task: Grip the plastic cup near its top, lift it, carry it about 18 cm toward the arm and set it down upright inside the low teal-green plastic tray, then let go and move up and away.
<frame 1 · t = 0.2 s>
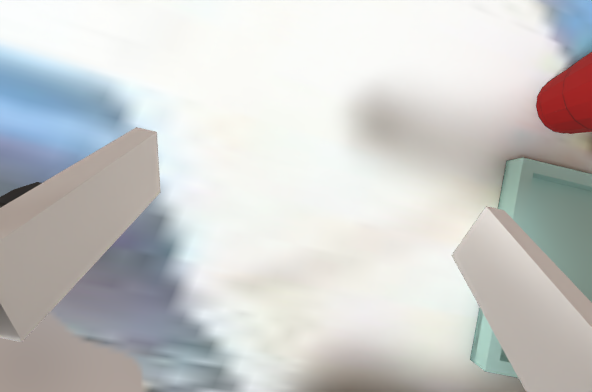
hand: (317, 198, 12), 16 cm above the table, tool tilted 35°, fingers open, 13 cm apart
tray: (581, 278, 29), on the table
plastic cup: (561, 107, 30), on the table
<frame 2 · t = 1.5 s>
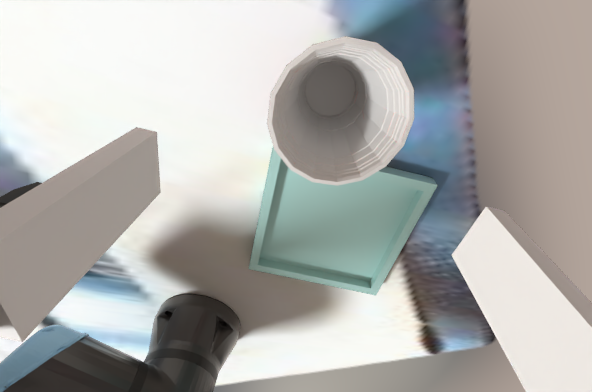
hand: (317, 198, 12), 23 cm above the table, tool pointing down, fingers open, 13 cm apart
tray: (331, 223, 40), on the table
plastic cup: (332, 90, 31), on the table
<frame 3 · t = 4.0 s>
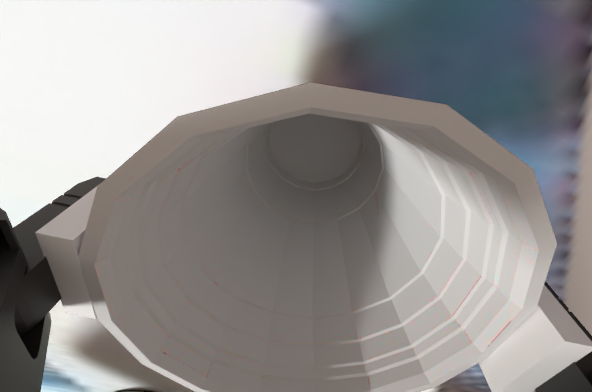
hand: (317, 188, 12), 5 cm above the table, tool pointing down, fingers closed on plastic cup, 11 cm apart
plastic cup: (318, 140, 17), on the table, touching gripper
when the fingers open (6 cm above the table, at t = 11.6 s): plastic cup stays where it is, resting on tray.
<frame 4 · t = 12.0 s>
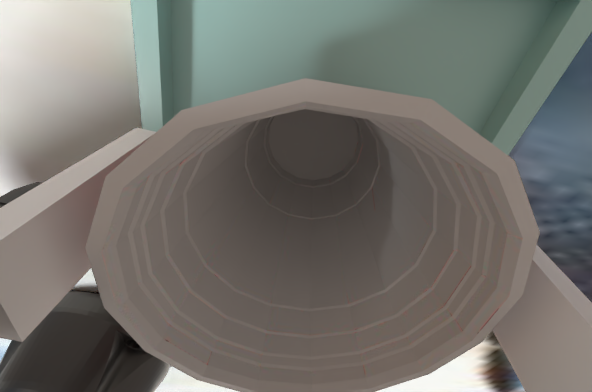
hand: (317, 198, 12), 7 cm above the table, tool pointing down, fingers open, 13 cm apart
tray: (318, 135, 18), on the table
plastic cup: (316, 138, 17), resting on tray
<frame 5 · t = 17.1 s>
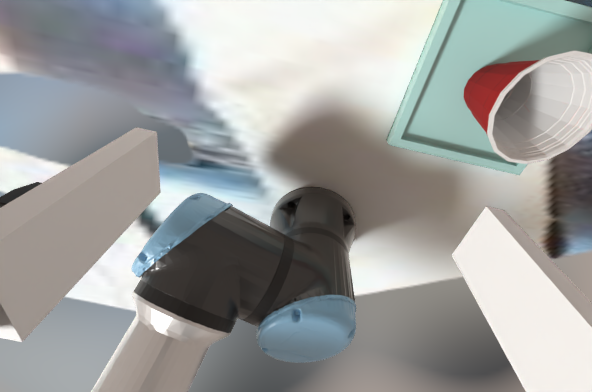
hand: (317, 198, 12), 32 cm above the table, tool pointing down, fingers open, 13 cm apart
tray: (487, 87, 38), on the table
plastic cup: (487, 87, 37), resting on tray
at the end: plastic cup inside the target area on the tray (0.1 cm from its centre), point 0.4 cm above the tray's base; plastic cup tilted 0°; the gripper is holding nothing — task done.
